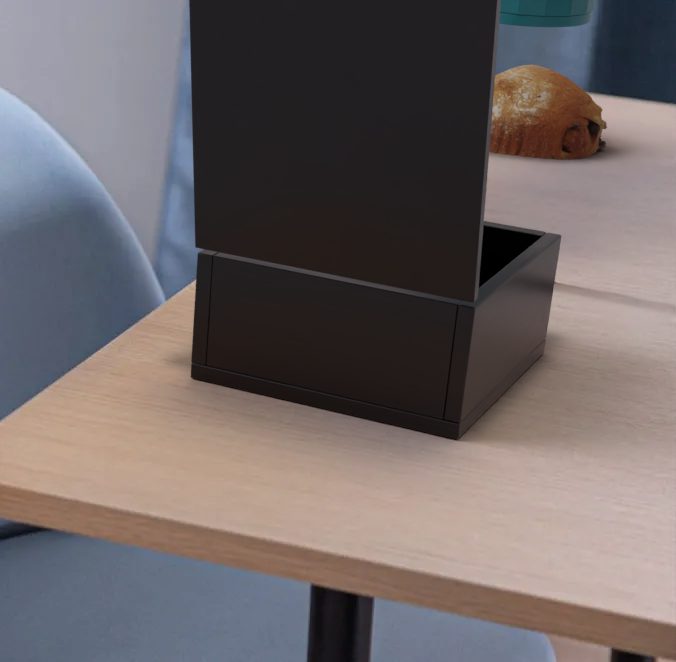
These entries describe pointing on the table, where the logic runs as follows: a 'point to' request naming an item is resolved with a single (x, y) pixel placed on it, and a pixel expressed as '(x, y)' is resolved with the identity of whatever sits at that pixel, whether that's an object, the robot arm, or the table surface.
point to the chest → (377, 334)
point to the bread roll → (543, 116)
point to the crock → (546, 12)
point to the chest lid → (346, 136)
